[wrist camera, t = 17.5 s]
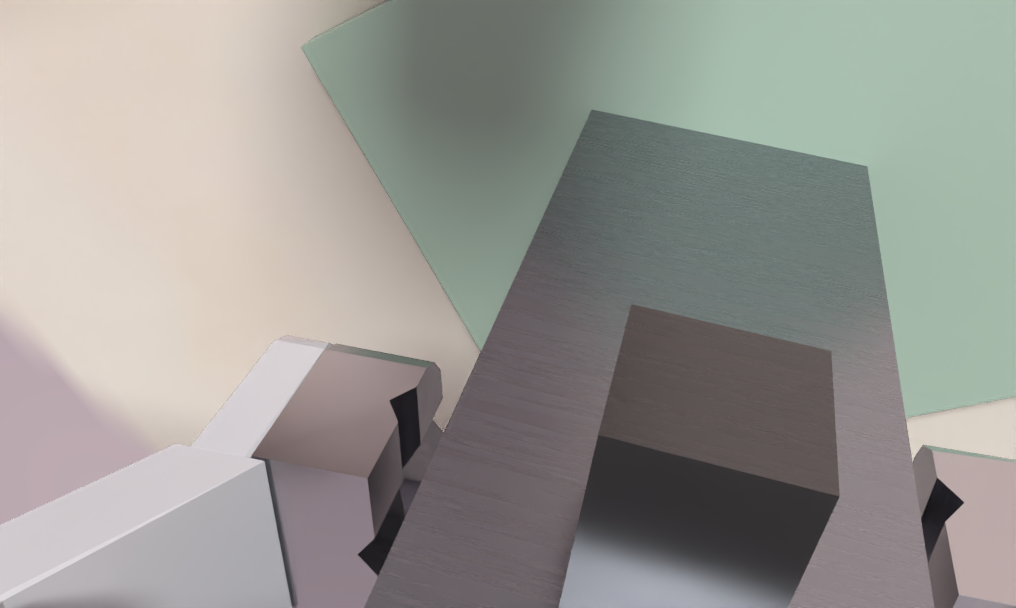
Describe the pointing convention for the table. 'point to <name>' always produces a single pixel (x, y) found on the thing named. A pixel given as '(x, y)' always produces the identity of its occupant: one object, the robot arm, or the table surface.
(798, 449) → the grey tabbed block
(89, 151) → the table surface
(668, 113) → the felt pad
